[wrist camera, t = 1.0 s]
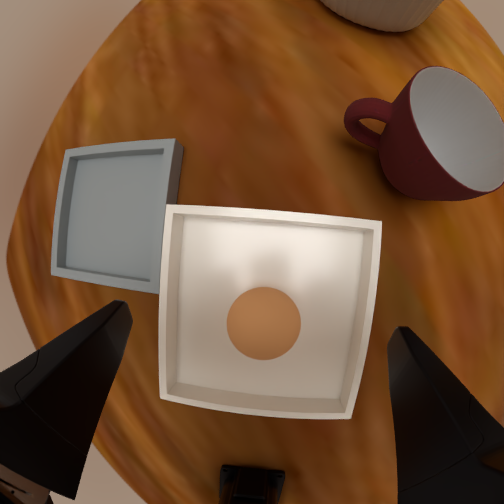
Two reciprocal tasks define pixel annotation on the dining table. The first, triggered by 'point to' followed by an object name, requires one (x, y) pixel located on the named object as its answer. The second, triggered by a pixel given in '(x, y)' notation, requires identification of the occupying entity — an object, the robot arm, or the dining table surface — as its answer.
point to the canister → (384, 12)
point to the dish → (274, 276)
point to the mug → (435, 137)
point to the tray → (115, 212)
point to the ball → (263, 323)
